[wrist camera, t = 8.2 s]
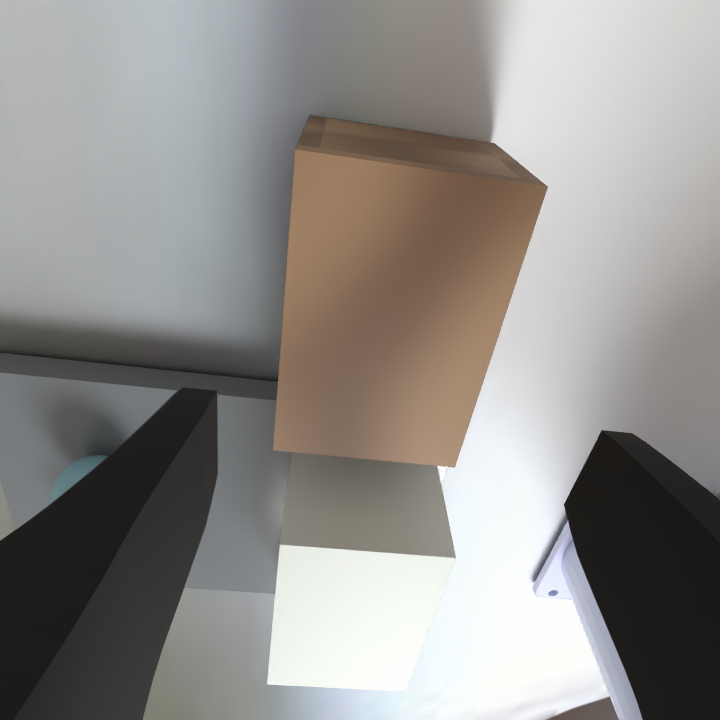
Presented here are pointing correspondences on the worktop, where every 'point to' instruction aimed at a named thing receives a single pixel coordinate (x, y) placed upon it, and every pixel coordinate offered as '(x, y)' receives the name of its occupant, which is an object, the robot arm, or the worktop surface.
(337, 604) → the white box
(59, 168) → the worktop surface
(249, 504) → the board
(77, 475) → the marble
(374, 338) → the walnut box
